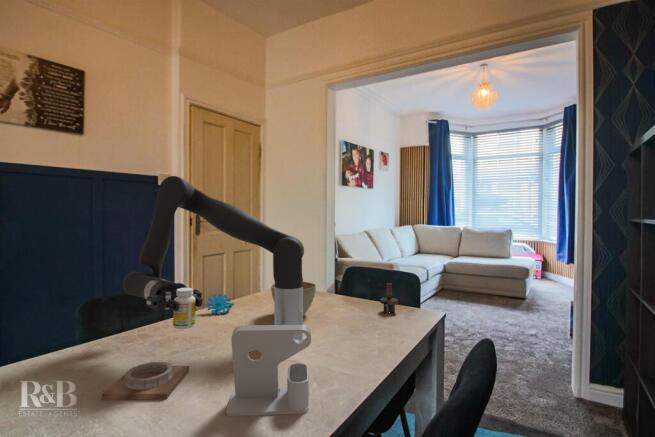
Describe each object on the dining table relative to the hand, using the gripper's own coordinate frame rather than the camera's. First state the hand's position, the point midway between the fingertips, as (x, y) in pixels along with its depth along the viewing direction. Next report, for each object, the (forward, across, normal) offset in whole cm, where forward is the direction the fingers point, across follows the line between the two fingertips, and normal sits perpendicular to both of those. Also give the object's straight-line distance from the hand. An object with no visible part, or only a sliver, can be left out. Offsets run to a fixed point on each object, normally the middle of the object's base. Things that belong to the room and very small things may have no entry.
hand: (189, 304), depth 89 cm
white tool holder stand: (+26, +6, +18) cm, 32 cm away
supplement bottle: (-3, 0, +6) cm, 7 cm away
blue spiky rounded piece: (-45, +34, +19) cm, 59 cm away
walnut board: (-1, -9, +18) cm, 20 cm away
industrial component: (+4, +84, +18) cm, 86 cm away
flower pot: (-21, +53, +18) cm, 60 cm away
